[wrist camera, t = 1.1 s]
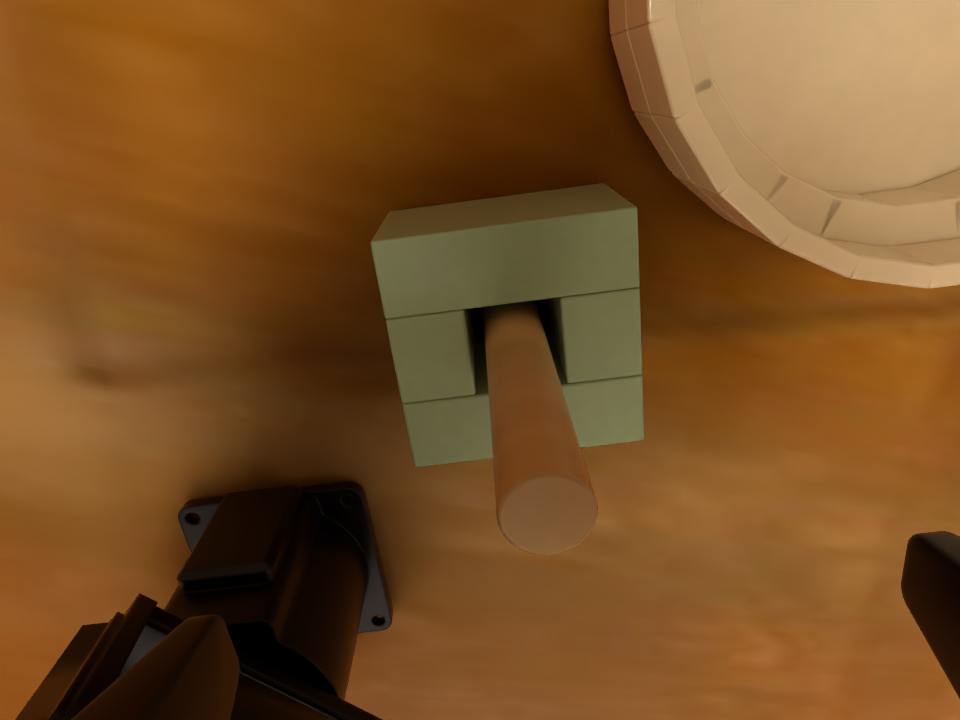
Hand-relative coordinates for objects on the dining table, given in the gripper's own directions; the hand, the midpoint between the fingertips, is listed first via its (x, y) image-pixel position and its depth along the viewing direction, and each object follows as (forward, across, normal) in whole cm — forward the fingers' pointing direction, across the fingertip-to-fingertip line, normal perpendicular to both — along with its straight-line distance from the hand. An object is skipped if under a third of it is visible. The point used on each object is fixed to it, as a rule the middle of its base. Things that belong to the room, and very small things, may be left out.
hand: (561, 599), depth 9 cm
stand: (+13, 0, 0) cm, 13 cm away
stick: (+13, 0, 0) cm, 13 cm away
